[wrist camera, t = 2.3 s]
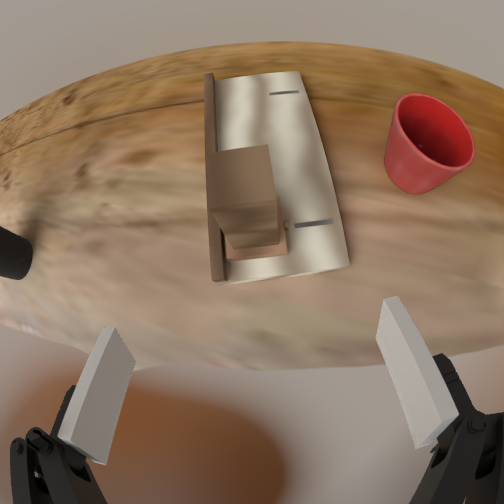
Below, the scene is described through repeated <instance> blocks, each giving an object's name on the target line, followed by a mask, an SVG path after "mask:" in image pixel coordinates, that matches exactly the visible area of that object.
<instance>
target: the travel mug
mask: <svg viewBox="0 0 504 504" xmlns="http://www.w3.org/2000/svg"><path fill="white" fill-rule="evenodd" d="M31 261H32V248H31V244H30V243H29V241H28V240H26V239H24V238H22V237H20V236H18V235H16V234H14V233H12V232H10V231H8V230H7V229H5V228H3V227H1V226H0V276H2V277H6V278H10V279H15V280H20V279H22V278H24V277H25V276H26V274H27V272H28V270H29V268H30V265H31Z"/></svg>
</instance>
